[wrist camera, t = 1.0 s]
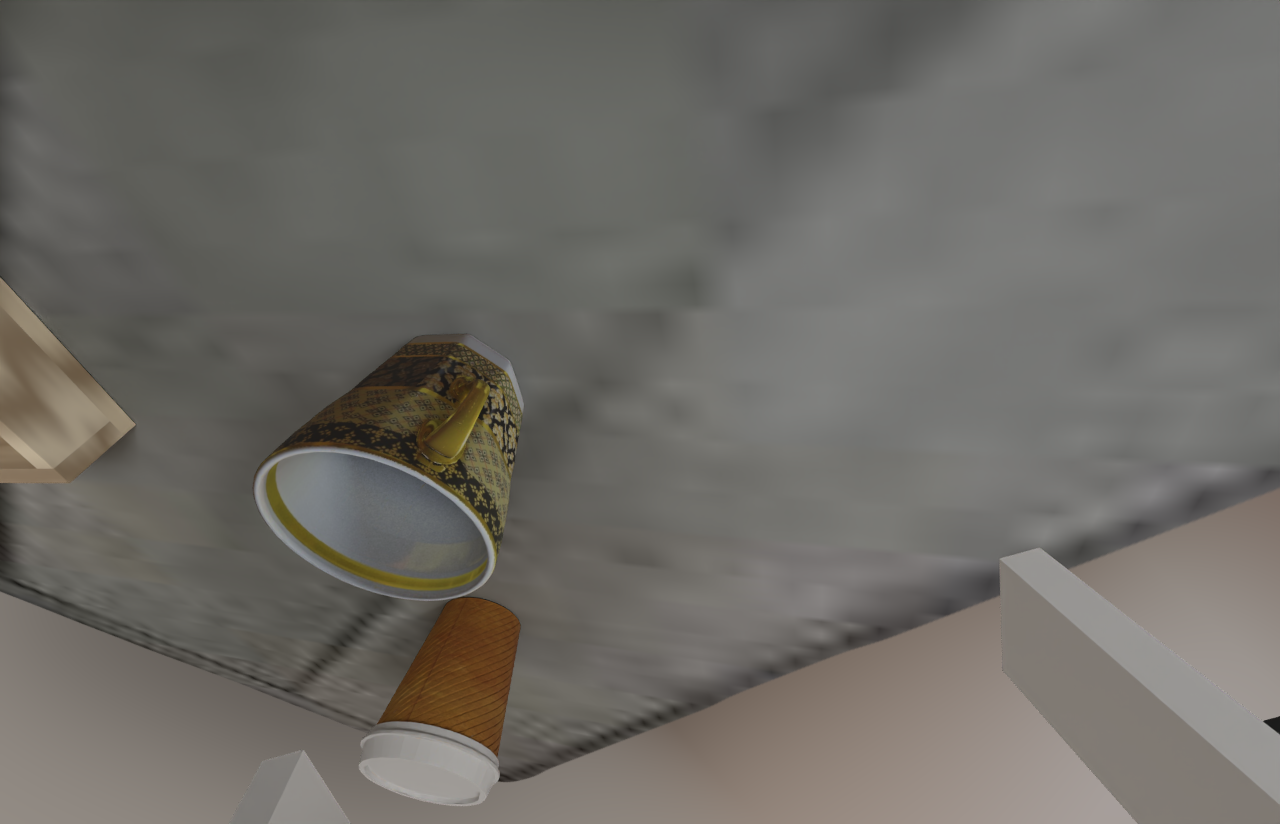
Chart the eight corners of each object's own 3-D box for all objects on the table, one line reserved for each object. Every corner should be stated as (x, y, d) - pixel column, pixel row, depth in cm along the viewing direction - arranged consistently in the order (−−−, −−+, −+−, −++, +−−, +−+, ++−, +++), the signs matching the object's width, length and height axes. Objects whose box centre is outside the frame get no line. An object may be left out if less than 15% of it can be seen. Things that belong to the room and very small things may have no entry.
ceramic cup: (499, 474, 37) (435, 625, 29) (344, 384, 33) (227, 529, 26) (625, 345, 29) (582, 505, 22) (440, 213, 26) (313, 348, 18)
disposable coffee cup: (533, 657, 52) (488, 818, 43) (425, 630, 52) (357, 787, 43) (547, 603, 46) (498, 778, 37) (424, 572, 45) (344, 741, 36)
